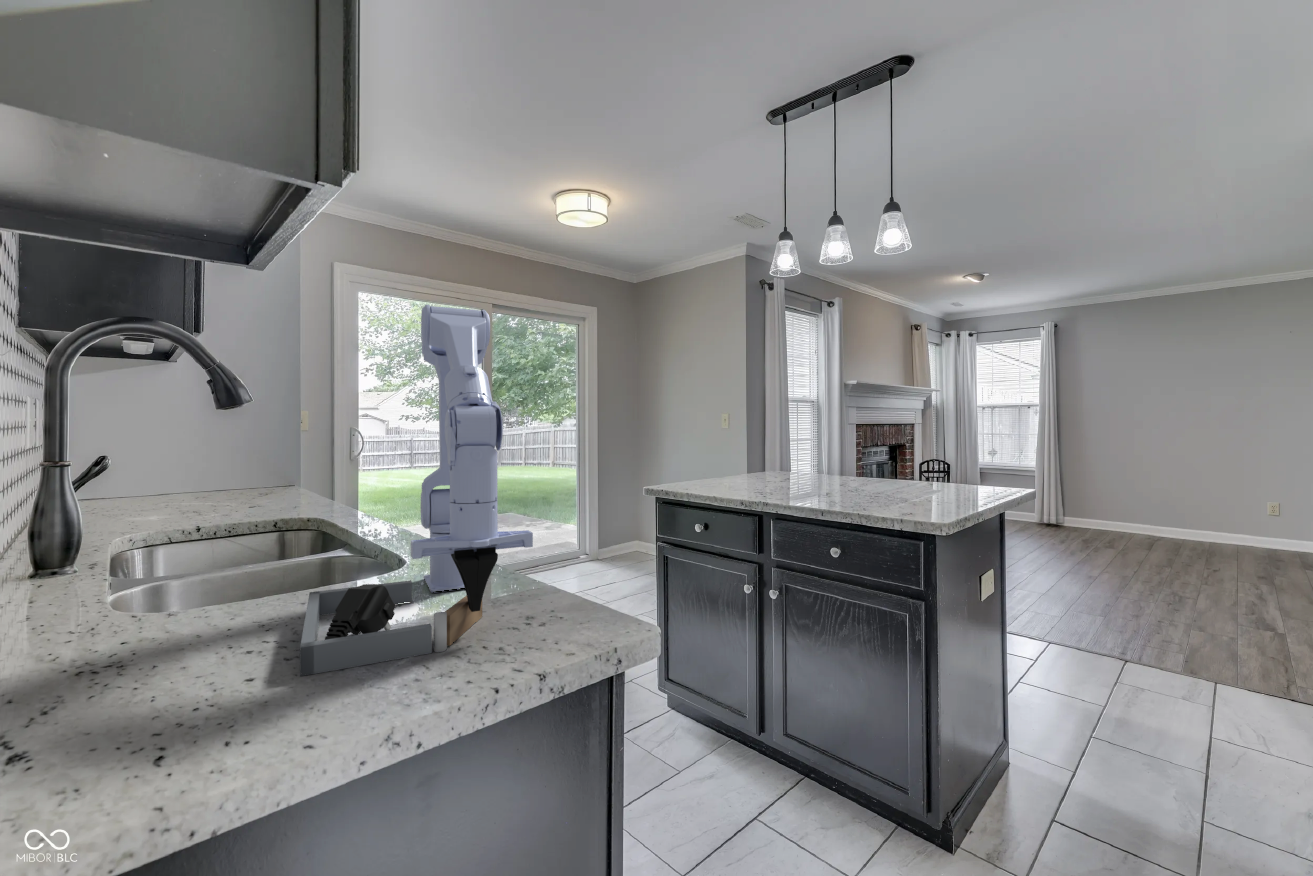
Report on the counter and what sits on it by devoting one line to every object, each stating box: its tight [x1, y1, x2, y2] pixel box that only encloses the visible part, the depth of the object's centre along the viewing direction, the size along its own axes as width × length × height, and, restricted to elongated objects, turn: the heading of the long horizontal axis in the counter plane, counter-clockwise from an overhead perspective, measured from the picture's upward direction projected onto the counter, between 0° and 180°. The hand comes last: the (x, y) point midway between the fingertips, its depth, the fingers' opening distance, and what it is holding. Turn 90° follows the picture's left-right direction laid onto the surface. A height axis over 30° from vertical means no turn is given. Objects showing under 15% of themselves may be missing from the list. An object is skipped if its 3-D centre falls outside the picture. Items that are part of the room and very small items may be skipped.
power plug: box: [323, 583, 396, 640], centre depth 67 cm, size 6×8×12 cm
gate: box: [444, 594, 483, 647], centre depth 72 cm, size 10×1×4 cm, turn 176°
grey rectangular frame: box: [299, 580, 448, 677], centre depth 71 cm, size 21×14×4 cm
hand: (474, 609), depth 71 cm, fingers closed
